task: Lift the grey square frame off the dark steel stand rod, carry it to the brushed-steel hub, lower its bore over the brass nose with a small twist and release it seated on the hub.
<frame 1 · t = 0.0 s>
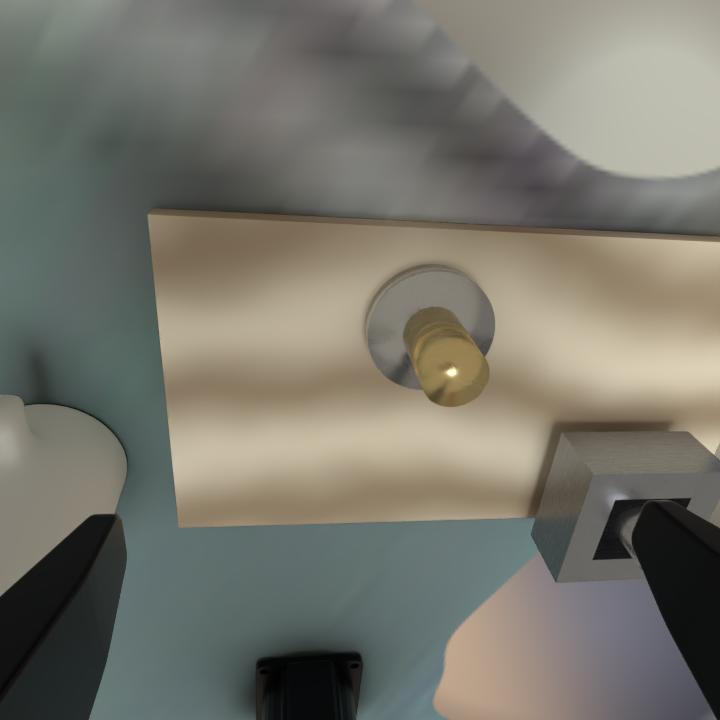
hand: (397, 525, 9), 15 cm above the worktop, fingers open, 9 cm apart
mug: (53, 427, 25), on the worktop
stand: (587, 459, 29), resting on board
grey square frame: (606, 484, 27), point 2 cm above the worktop, touching stand
board: (468, 384, 26), on the worktop
hub: (421, 314, 24), resting on board
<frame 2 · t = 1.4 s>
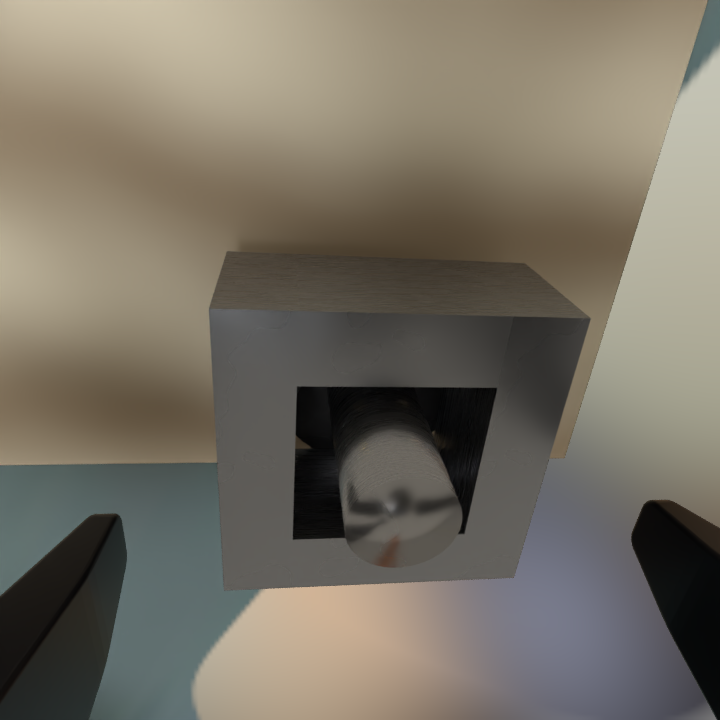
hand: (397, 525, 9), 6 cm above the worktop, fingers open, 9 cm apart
stand: (359, 349, 15), resting on board
grey square frame: (368, 387, 13), point 2 cm above the worktop, touching stand
board: (39, 156, 12), on the worktop
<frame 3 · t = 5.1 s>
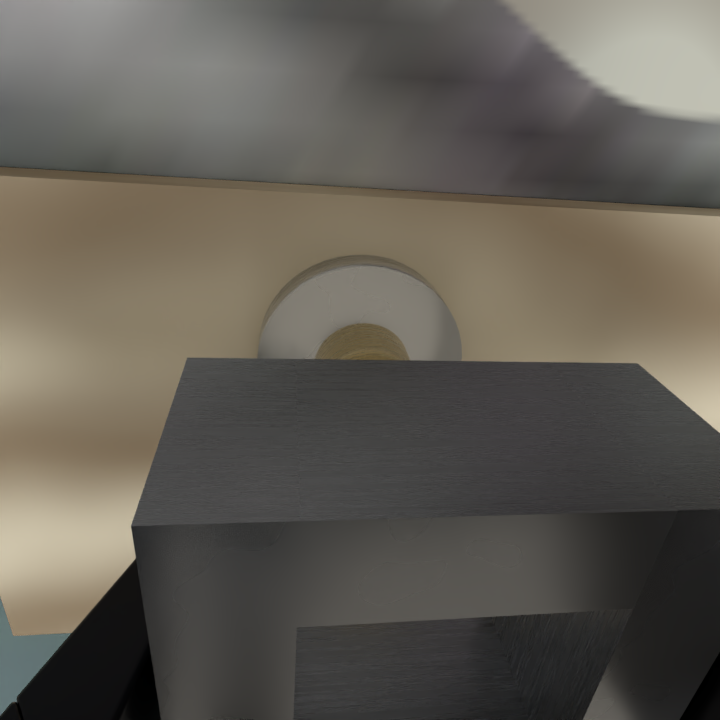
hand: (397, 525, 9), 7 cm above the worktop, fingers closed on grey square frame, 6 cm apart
grey square frame: (400, 530, 9), point 8 cm above the worktop, touching gripper
board: (429, 432, 18), on the worktop
hub: (353, 332, 16), resting on board
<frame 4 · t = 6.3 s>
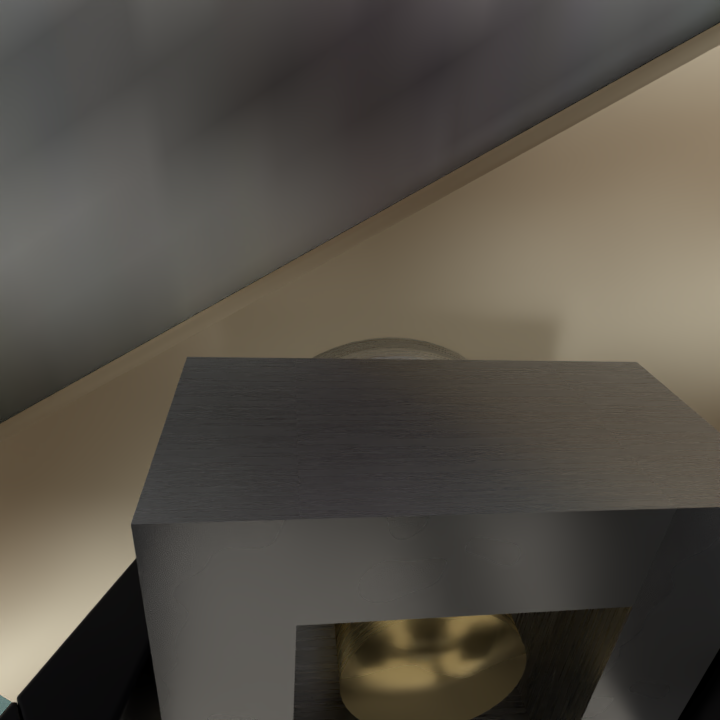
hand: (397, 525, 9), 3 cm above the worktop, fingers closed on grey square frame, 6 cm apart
grey square frame: (399, 529, 9), point 3 cm above the worktop, touching gripper
board: (541, 478, 13), on the worktop
hub: (373, 426, 12), resting on board
when the fingers open (3 cm above the worktop, at t = 7.4 s): grey square frame stays where it is, resting on hub.
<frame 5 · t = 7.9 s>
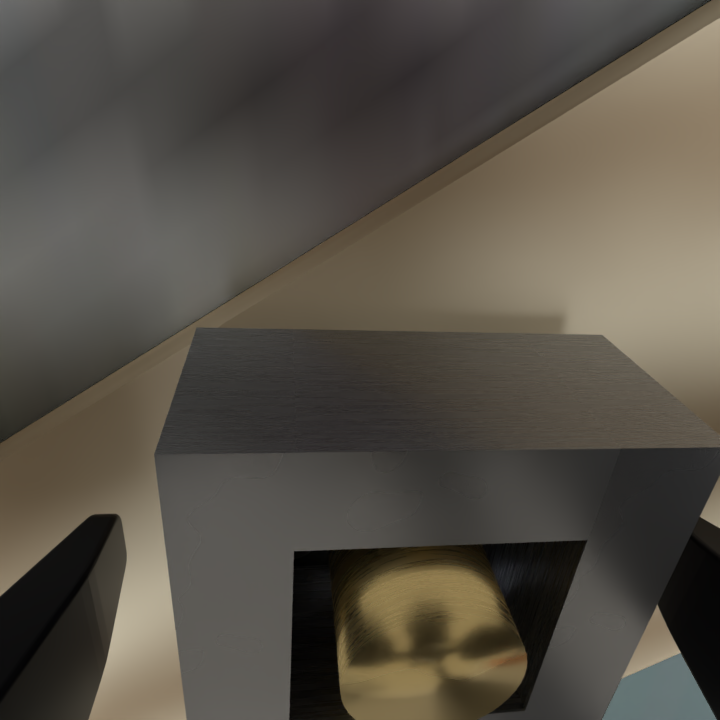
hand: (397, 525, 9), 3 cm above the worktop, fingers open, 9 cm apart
grey square frame: (389, 490, 10), point 2 cm above the worktop, touching hub
board: (547, 472, 13), on the worktop
hub: (373, 428, 12), resting on board
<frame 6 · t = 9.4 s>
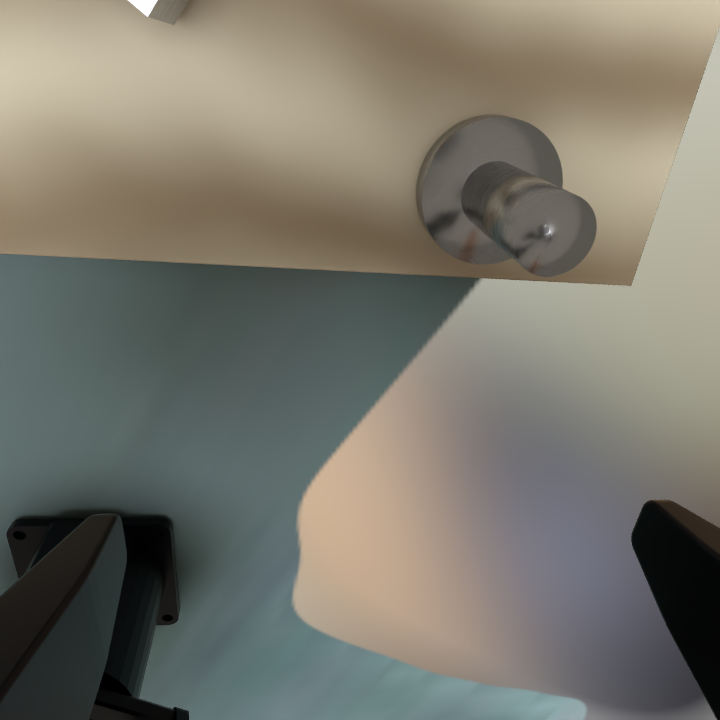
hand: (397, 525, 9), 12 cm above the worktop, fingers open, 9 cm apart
stand: (473, 182, 19), resting on board
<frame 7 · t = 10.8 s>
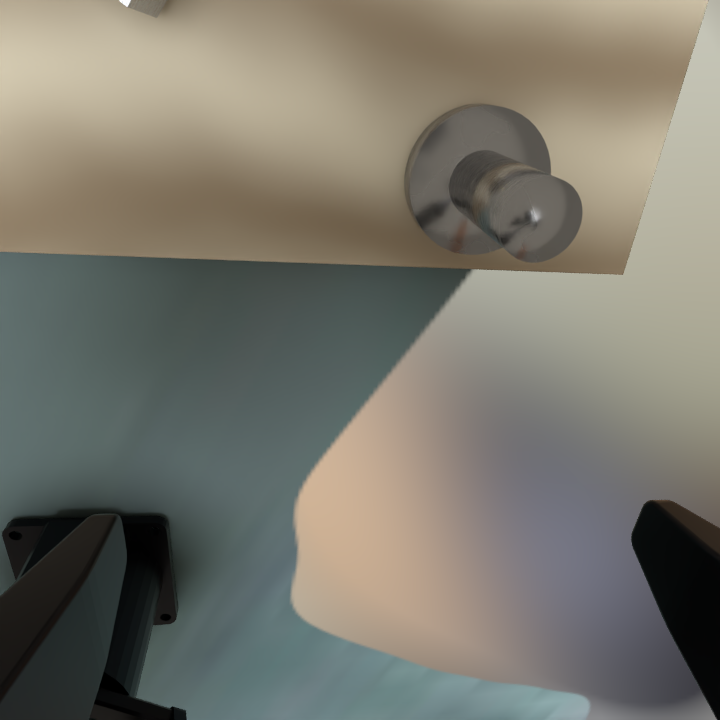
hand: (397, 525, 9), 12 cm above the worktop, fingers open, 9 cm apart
stand: (462, 173, 19), resting on board
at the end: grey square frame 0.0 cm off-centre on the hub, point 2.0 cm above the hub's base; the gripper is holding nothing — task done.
